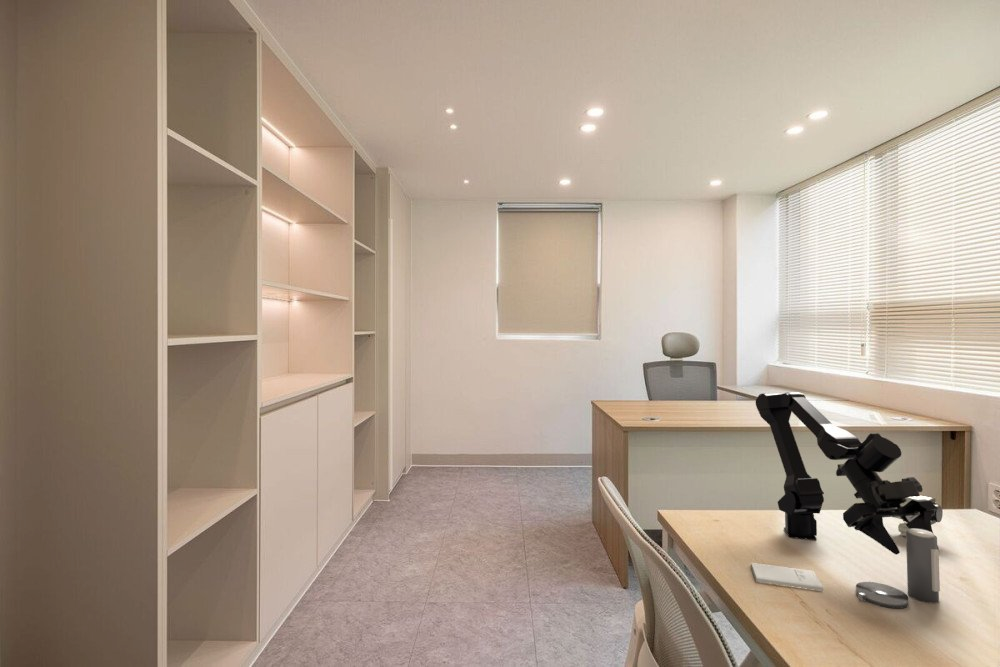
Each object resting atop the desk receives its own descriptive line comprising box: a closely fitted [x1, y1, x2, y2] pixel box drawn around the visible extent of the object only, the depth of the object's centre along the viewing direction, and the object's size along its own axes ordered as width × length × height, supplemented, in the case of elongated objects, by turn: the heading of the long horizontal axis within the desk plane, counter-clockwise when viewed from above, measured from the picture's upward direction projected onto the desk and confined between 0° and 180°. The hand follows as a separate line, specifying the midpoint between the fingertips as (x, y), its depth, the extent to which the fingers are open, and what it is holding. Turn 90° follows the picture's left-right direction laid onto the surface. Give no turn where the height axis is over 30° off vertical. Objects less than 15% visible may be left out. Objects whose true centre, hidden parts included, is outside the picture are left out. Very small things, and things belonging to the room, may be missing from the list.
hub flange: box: [855, 581, 910, 610], centre depth 100 cm, size 9×8×1 cm
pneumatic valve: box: [893, 495, 944, 538], centre depth 131 cm, size 6×12×12 cm, turn 32°
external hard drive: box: [750, 562, 824, 592], centre depth 108 cm, size 2×8×12 cm
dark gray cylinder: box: [905, 528, 941, 604], centre depth 100 cm, size 5×5×13 cm
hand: (917, 552), depth 101 cm, fingers open, 9 cm apart
